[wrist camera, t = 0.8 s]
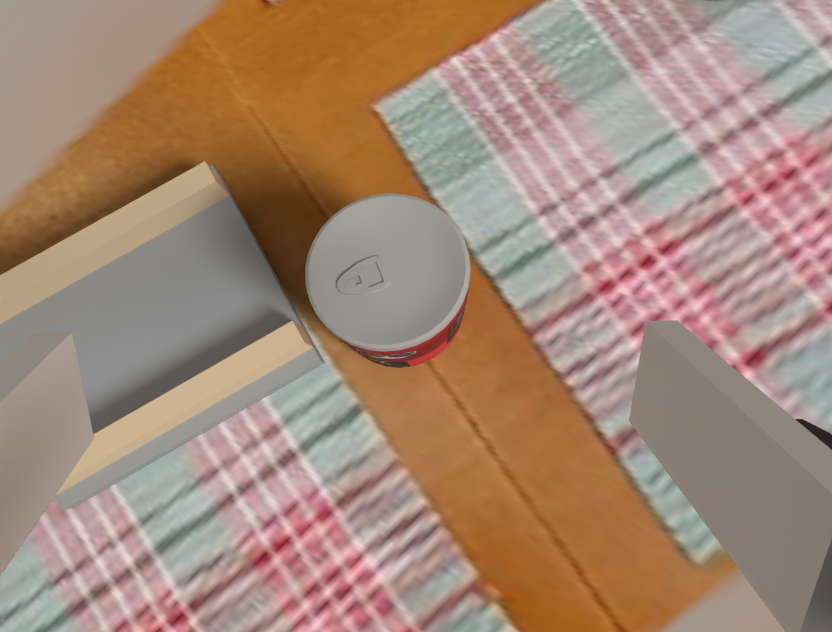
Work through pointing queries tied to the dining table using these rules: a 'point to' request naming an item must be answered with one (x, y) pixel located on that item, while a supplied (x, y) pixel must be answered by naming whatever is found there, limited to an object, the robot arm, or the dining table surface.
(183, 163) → the dining table surface
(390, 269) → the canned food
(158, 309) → the track
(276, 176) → the dining table surface
